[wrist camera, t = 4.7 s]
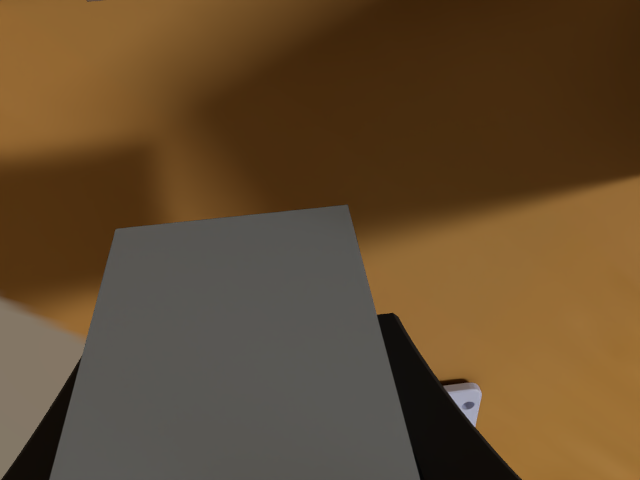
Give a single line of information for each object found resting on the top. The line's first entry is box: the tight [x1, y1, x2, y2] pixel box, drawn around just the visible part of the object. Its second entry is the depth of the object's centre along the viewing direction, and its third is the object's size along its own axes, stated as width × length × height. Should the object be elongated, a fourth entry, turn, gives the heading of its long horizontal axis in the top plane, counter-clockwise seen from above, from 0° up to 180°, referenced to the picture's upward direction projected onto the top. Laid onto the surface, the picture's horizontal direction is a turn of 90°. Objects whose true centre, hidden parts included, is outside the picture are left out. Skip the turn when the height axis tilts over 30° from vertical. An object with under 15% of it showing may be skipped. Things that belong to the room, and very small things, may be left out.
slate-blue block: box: [49, 205, 420, 480], centre depth 10 cm, size 4×4×6 cm
